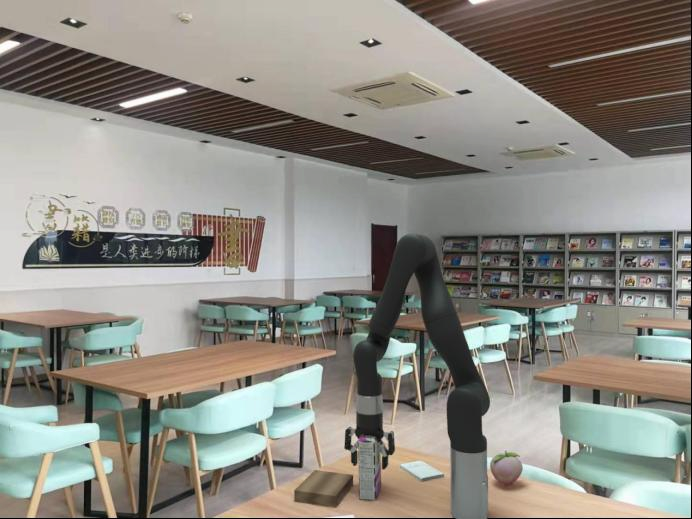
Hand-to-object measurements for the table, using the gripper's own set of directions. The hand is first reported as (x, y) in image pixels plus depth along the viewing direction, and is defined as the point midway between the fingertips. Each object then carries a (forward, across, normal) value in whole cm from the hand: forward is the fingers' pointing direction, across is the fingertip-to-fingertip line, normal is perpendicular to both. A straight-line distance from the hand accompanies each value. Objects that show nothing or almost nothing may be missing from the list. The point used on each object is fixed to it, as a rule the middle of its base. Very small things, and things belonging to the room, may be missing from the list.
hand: (369, 466), depth 153 cm
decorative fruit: (+7, -36, -17) cm, 41 cm away
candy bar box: (+7, 0, 0) cm, 7 cm away
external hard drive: (+8, -11, -19) cm, 23 cm away
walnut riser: (+7, +12, +5) cm, 15 cm away
